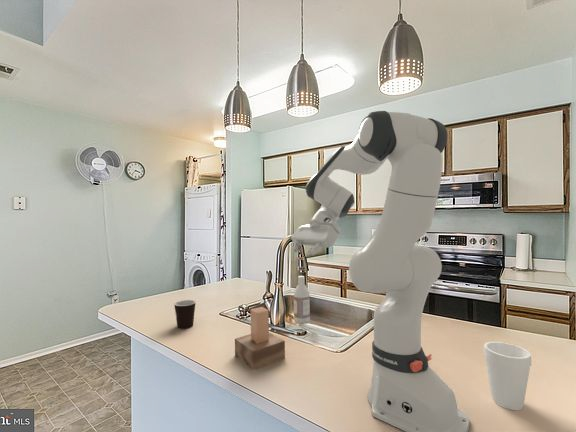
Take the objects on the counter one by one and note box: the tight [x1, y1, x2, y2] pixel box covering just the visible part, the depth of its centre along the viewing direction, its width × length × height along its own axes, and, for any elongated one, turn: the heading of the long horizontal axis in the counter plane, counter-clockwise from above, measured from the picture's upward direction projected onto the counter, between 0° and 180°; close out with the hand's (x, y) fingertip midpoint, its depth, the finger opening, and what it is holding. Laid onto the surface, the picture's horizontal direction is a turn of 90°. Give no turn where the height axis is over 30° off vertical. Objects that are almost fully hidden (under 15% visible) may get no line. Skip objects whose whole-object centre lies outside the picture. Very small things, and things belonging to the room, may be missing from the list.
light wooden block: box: [250, 306, 270, 344], centre depth 99 cm, size 4×4×10 cm
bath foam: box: [293, 275, 311, 325], centre depth 131 cm, size 7×7×20 cm
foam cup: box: [483, 340, 532, 411], centre depth 74 cm, size 10×9×13 cm
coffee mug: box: [174, 299, 196, 330], centre depth 129 cm, size 12×9×10 cm
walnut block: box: [234, 332, 286, 371], centre depth 99 cm, size 12×12×6 cm
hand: (302, 252), depth 108 cm, fingers open, 8 cm apart
